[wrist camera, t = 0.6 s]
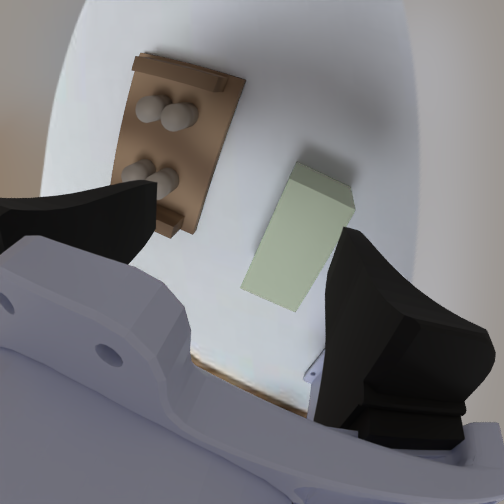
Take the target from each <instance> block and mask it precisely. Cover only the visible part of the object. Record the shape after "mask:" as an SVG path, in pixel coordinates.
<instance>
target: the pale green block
mask: <svg viewBox="0 0 504 504" xmlns="http://www.w3.org/2000/svg"><path fill="white" fill-rule="evenodd" d="M354 212H355V205H354V200H353V196H352V191H351V187H349V186H347V185H345V184H343V183H341V182H339V181H337V180H334V179H332V178H330V177H328V176H326V175H324V174H322V173H320V172H318V171H316V170H313V169H311V168H309V167H307V166H305V165H302V164H300V163H298V162H296V164H295V167H294V169H293V171H292V173H291V175H290V178H289V180H288V182H287V184H286V187H285V189H284V191H283V193H282V196H281V198H280V200H279V202H278V205H277V207H276V209H275V211H274V213H273V216H272V218H271V220H270V222H269V225H268V227H267V229H266V231H265V234H264V236H263V238H262V240H261V242H260V245H259V247H258V249H257V251H256V254H255V256H254V258H253V260H252V262H251V265H250V267H249V269H248V271H247V274H246V276H245V278H244V280H243V282H242V285H241V287H240V288H241V289H243V290H246V291H248V292H250V293H252V294H254V295H257V296H259V297H261V298H264V299H266V300H268V301H270V302H273V303H275V304H277V305H279V306H282V307H284V308H286V309H289V310H291V311H293V312H296V311H297V309H298V307H299V306H300V304H301V303H302V301H303V299H304V298H305V296H306V295H307V293H308V291H309V290H310V288H311V286H312V285H313V283H314V281H315V280H316V278H317V276H318V275H319V273H320V271H321V270H322V268H323V266H324V265H325V263H326V261H327V259H328V258H329V256H330V254H331V253H332V251H333V249H334V247H335V246H336V244H337V242H338V240H339V238H340V235H341V232H342V229H343V226H344V227H346V226H347V224H348V223H349V221H350V219H351V217H352V215H353V214H354Z"/></svg>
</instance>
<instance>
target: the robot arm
mask: <svg viewBox="0 0 504 504" xmlns="http://www.w3.org/2000/svg"><path fill="white" fill-rule="evenodd" d="M157 184H158V182H153V181H148V180H133V181H128V182H123V183H118V184H114V185H109V186H105V187H101V188H96V189H91V190H87V191H82V192H77V193H71V194H65V195H58V196H49V197H37V198H0V504H497V503H499V502H500V501H502V500H504V444H503V439H502V435H501V430H500V426H499V423H497V422H473V423H469V424H466V425H464V426H463V425H462V420H461V416H463V415H464V414H465V413H466V406H465V400H466V399H467V398H468V397H469V396H470V395H471V394H472V393H473V391H475V390H476V389H477V387H478V386H479V385H480V384H481V383H482V382H483V381H484V380H485V378H486V377H487V375H488V374H489V373H490V371H491V369H492V367H493V364H494V362H495V353H496V352H495V350H494V347H493V344H492V341H491V339H490V337H489V334H488V332H487V330H486V329H484V328H482V327H480V326H478V325H476V324H473V323H471V322H469V321H467V320H465V319H463V318H461V317H459V316H458V315H456V314H454V313H452V312H451V311H449V310H447V309H445V308H444V307H442V306H441V305H439V304H438V303H436V302H435V301H433V300H432V299H430V298H429V297H428V296H426V295H425V294H424V293H422V292H421V291H420V290H418V289H417V288H416V287H414V286H413V285H412V284H411V283H410V282H409V281H408V280H406V279H405V278H404V277H403V276H402V275H401V274H400V273H399V272H398V271H397V270H396V269H395V268H394V267H393V266H392V265H391V264H390V263H389V262H388V261H387V260H386V259H385V258H384V257H383V256H382V255H381V254H380V252H379V251H378V250H377V249H376V248H375V247H374V246H373V244H372V243H371V242H370V241H369V240H368V239H367V238H366V237H365V236H364V235H363V234H362V233H361V232H360V231H358V230H354V229H351V228H347V227H344V226H343V229H342V232H341V235H340V238H339V241H338V244H337V247H336V250H335V253H334V256H333V259H332V261H331V264H330V267H329V270H328V273H327V281H326V290H325V325H326V343H325V350H324V351H323V352H322V354H321V355H320V356H319V357H318V359H317V360H316V361H315V362H314V364H313V365H312V366H311V367H310V369H309V370H308V371H307V372H306V374H305V375H304V378H303V379H304V381H305V382H308V383H311V392H310V400H309V407H308V414H307V419H306V418H304V417H302V416H299V415H297V414H295V413H292V412H290V411H288V410H285V409H283V408H281V407H278V406H276V405H274V404H272V403H270V402H267V401H265V400H263V399H261V398H259V397H257V396H254V395H252V394H250V393H248V392H246V391H244V390H242V389H240V388H238V387H236V386H234V385H232V384H230V383H228V382H226V381H224V380H222V379H220V378H218V377H216V376H214V375H212V374H211V373H209V372H207V371H205V370H203V369H201V368H199V367H198V366H196V365H195V364H193V362H192V361H191V355H190V341H191V329H190V325H189V322H188V318H187V314H186V311H185V307H184V306H183V305H182V303H181V302H180V301H179V300H178V299H177V298H176V297H175V295H174V294H173V293H172V292H171V291H170V290H169V288H168V287H167V286H166V285H165V284H164V283H163V282H162V281H160V280H158V279H156V278H154V277H152V276H151V275H149V274H147V273H145V272H143V271H141V270H140V269H138V268H136V267H133V266H130V265H128V264H129V263H130V262H131V261H132V260H133V259H134V257H135V256H136V255H137V254H138V253H139V252H140V251H141V250H142V248H143V247H144V246H145V245H146V243H147V242H148V240H149V239H150V237H151V236H152V234H153V232H154V231H155V229H156V209H157ZM312 372H315V373H312Z"/></svg>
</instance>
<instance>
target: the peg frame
mask: <svg viewBox="0 0 504 504" xmlns="http://www.w3.org/2000/svg"><path fill="white" fill-rule="evenodd" d="M132 70H133V71H135V72H134V76H133V79H132V83H131V87H130V91H129V95H128V98H127V103H126V107H125V111H124V115H123V120H122V124H121V129H120V134H119V139H118V144H117V149H116V154H115V160H114V165H113V171H112V178H111V184H110V185H114V184H118V183H123V182H128V181H133V180H148V181H153V182H158V184H157V209H156V229H155V232H157V233H159V234H161V235H163V236H166V237H168V238H170V239H171V238H172V237H173V236H174V235H175V234H176V233H177V232H178V231H179V230H180V229H181V230H183V231H186V232H188V233H190V234H192V235H193V234H194V233H195V231H196V228H197V225H198V222H199V218H200V215H201V212H202V208H203V205H204V202H205V199H206V196H207V192H208V189H209V186H210V183H211V180H212V177H213V174H214V170H215V167H216V164H217V161H218V158H219V155H220V152H221V149H222V146H223V143H224V140H225V138H226V135H227V132H228V129H229V126H230V123H231V120H232V117H233V115H234V112H235V109H236V106H237V103H238V101H239V98H240V95H241V93H242V90H243V87H244V84H245V82H246V80H244V79H241V78H238V77H235V76H232V75H228V74H225V73H222V72H218V71H215V70H212V69H208V68H204V67H201V66H197V65H193V64H190V63H186V62H182V61H178V60H173V59H169V58H165V57H160V56H156V55H151V54H146V53H140V55H139V56H135V60H134V63H133V66H132Z"/></svg>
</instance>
